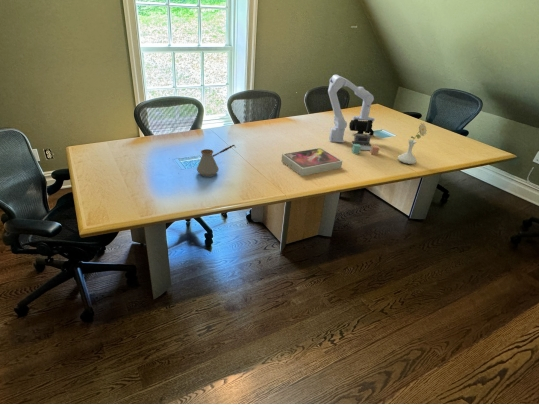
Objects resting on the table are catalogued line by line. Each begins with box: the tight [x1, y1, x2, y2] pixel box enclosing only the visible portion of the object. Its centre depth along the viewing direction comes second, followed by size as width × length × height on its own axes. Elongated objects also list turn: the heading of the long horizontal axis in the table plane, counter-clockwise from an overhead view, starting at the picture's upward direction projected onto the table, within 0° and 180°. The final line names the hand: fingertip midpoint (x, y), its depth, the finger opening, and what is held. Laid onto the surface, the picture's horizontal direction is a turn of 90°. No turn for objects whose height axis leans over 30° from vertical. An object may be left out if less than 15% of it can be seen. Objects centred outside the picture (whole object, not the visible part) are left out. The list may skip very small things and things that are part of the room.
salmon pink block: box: [369, 144, 380, 156], centre depth 221 cm, size 4×4×5 cm
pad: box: [360, 145, 371, 152], centre depth 229 cm, size 10×8×1 cm
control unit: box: [351, 133, 372, 147], centre depth 234 cm, size 12×5×6 cm, turn 88°
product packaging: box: [281, 147, 343, 177], centre depth 200 cm, size 22×28×5 cm
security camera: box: [348, 119, 375, 137], centre depth 250 cm, size 7×18×10 cm, turn 89°
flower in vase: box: [397, 122, 428, 165], centre depth 207 cm, size 13×11×25 cm
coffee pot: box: [196, 144, 237, 178], centre depth 181 cm, size 21×12×15 cm, turn 115°
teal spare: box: [351, 143, 361, 154], centre depth 221 cm, size 4×4×5 cm
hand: (361, 130), depth 238 cm, fingers open, 7 cm apart
